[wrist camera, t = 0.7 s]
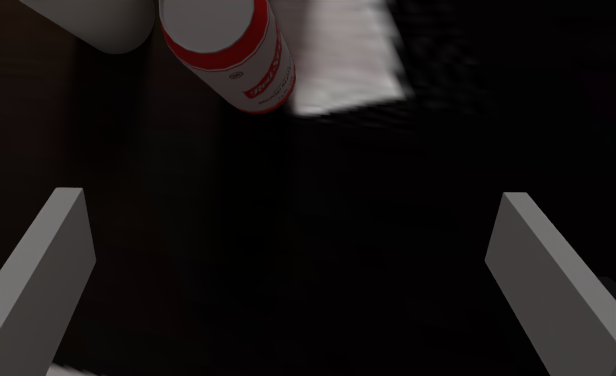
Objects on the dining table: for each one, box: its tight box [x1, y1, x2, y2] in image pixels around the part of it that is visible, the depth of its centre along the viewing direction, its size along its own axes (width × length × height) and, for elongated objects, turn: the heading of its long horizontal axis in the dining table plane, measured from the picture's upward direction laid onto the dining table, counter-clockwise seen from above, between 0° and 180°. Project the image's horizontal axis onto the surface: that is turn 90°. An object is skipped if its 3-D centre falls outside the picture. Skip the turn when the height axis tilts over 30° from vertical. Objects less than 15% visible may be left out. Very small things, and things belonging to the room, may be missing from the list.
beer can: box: [159, 0, 296, 114], centre depth 36 cm, size 6×6×16 cm
